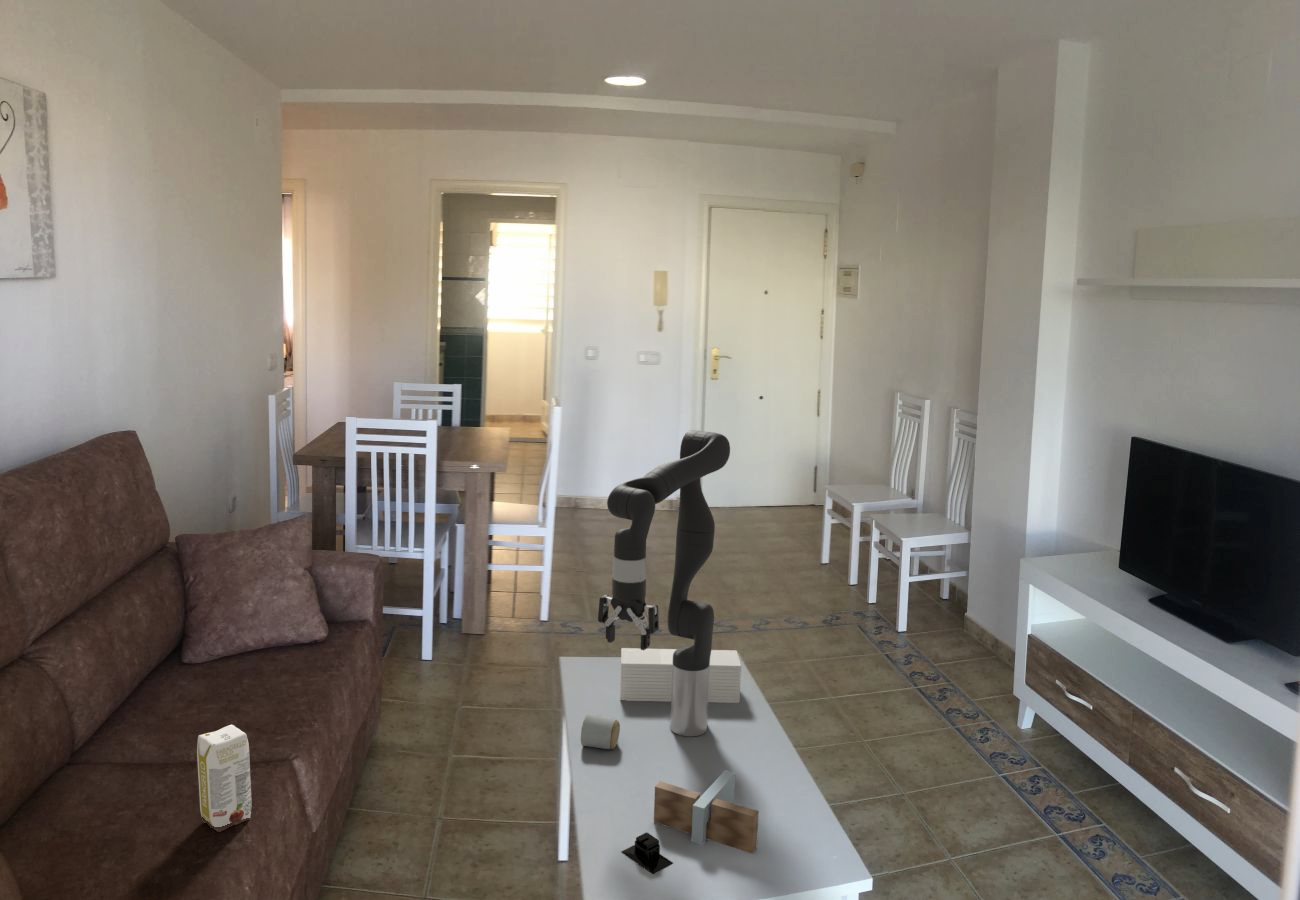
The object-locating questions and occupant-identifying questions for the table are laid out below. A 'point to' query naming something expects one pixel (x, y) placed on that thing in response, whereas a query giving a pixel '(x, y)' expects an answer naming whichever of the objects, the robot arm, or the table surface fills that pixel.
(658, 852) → the black plastic bracket
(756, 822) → the brown wooden board
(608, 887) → the table surface
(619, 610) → the robot arm
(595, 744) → the ceramic mug
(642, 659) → the stack of papers
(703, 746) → the table surface
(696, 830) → the blue grey block
